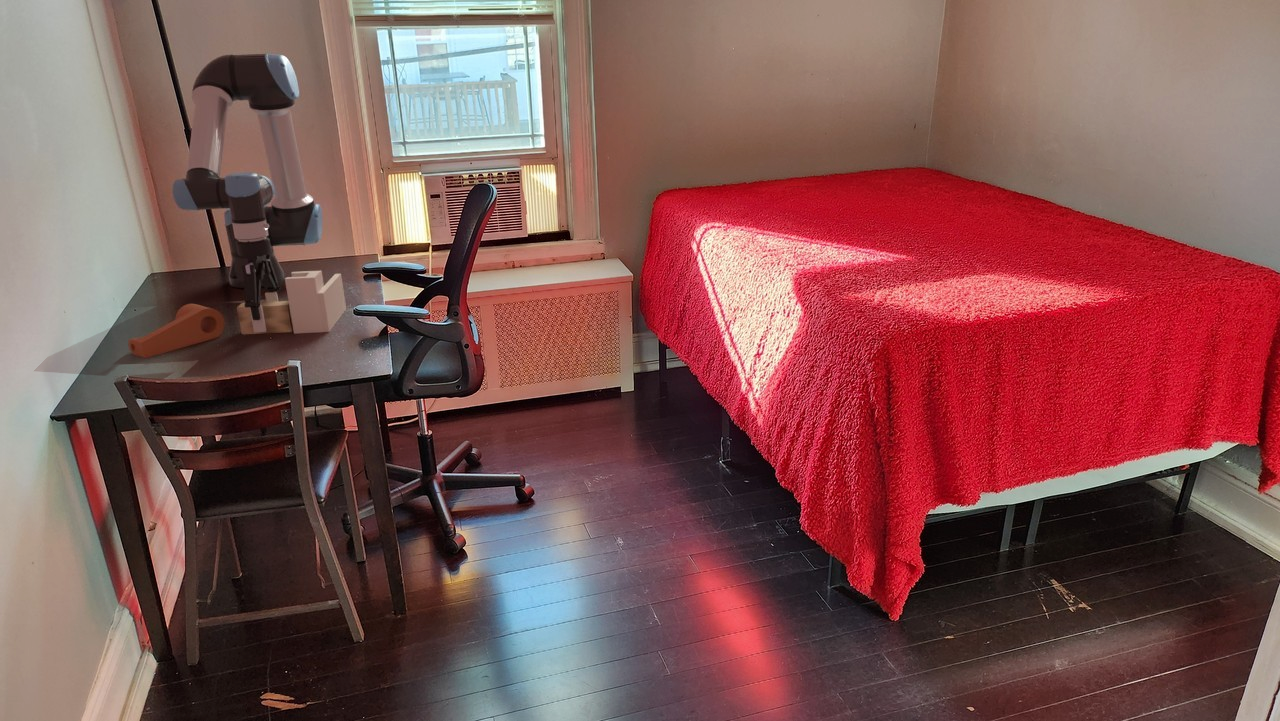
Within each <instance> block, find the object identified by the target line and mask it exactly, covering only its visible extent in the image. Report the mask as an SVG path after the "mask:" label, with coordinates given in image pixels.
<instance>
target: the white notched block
mask: <svg viewBox="0 0 1280 721" xmlns="http://www.w3.org/2000/svg"><path fill="white" fill-rule="evenodd" d="M290 273H291V274H290V275H291V276H288V277H285V279H284V282H285V287H286V292H287V293H286V294H287V301H289V306H290V312H291V318H292V324H293V330H294V331H293V334H294V335H295V334H309V333H310V334H313V333H330V332H331V330H332V329H333V328H334V326H336V324H337V322H338V321H339V320H340V319H341V317H342V316H343V315H344V313H345V312H346V311H347V305H346V298H345V292H344V285H343V284H344V283H343V278H342V273H334V275H332V277H331V278H330V279H329V280H328V281H327V282H326V283H325V284H324V277H323V271H322V270H307V271H306V270H303V271H292V272H290ZM345 310H346V311H345ZM344 311H345V312H344ZM342 314H343V315H342Z"/></svg>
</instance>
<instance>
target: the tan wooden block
mask: <svg viewBox="0 0 1280 721" xmlns="http://www.w3.org/2000/svg"><path fill="white" fill-rule="evenodd" d="M260 305H262V309H263V314H264V320H265V325H266V332H254V329H253V324H252V318H251V313H250V308H249V307H245V302H242V303H240V304H238V306H237V307H236V312H237V315H238V322H239V326H240V331H241V334H242V335H258V334H262V335H263V334H280V333H281V334H282V333H293V332H294V330H293V324H292V318H291V312H290V306H289V301H288V300H278V301H274V302H266V301H260Z"/></svg>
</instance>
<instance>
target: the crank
mask: <svg viewBox="0 0 1280 721" xmlns="http://www.w3.org/2000/svg"><path fill="white" fill-rule="evenodd" d="M224 318H225V317H224V316H223V314H222V313H221V312H220V311H218V310H217V309H216V308H211V307H207V306H204V305H200V304H196V303H187V304H185V305H183V306H181V307H180V308H179V309H178V311H177V312H176V314H175V317H174V320H173V321H170V322H169V323H167V324H164V326H163V325H162V327H160V328H158V329H156V330H154V331H152V332H151V333H147V334H146V335H144V336H143V337H142V336H141V337H140V336H138V337H134V338H130V339H129V340H128V348H129V351H130V352H131V354H132V355H134V356H137V357H140V358H144V359H146V358H147V359H148V358H150V357H154V356H158V355H161V354H164V353H169V352H171V351H174V350H179V349H182V348H186V347H189V346H193V345H196V344H200V343H202V342H206V341H210V340H214V339H217V338H218V337H220V336H221V334H222V333H223V331H224V328H225V319H224Z"/></svg>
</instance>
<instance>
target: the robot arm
mask: <svg viewBox="0 0 1280 721" xmlns="http://www.w3.org/2000/svg"><path fill="white" fill-rule="evenodd" d="M297 78H298V77H297V75H296V73H295V69H294V68H293V65H292V63H291V61H290V60H289V58H287V57H286V56H285V55H283V54H276V53H275V54H273V53H255V54H254V53H253V54H252V53H251V54H250V53H249V54H247V53H246V54H224V55H221V56H218V57H216V58H214V59H213V60H211V61H210V62H209V63H207V64H206V65H205V66H204V67H203V68H202V69H201V70H200V72H199V74H197V77H196V78H195V80H194V83H193V85H192V91H191V99H192V102H193V103H194V110H193V111H194V112H193V118H192V119H193V120H192V126H191V134H190V143H189V151H188V157H187V158H188V160H187V165H186V166H187V167H186V174H185V178H180V179H176V180H174V182H173V184H172V196H173V200H174V202H175V204H176V206H177V207H178V208H179V209H181V210H182V211H183V210H185V211H203V210H219V209H225V211H224V213H223V217H224V227H225V230H226V235H227V240H228V246H229V251H230V256H231V263H230V269H229V275H228V280H229V285H230V286H231V287H233V288H238V289H239V288H240V289H243V290H244V303H245V307H249V308H250V313H251V318H252V324H253V329H254V332H266V325H265V320H264V314H263V309H262V305H260V302H261V291H262V290H261V288H262V287H264V290H265V291H266V292H265V293H264V296H265V300H266V301H265V302H274V301H279V297H278V292H281V287H280V283H281V282H283V281H285V278H286V277H285V272H284V270H283V268H282V265H281V264H280V263H279V260H278V259H277V257H276V255H275V251H274V247H284V246H306V245H314V244H317V243H319V242H320V240H321V238H322V234H323V210H322V206H321V204H319V203H315V201H314V197H313V196H312V195H310V193H307V189H306V184H305V178H304V174H303V170H302V163H301V158H300V154H299V148H298V142H297V138H296V134H295V133H296V132H295V128H294V123H293V122H294V121H293V117H292V112H291V111H292V110H293V108H294V107H295V106H296V103H295V100H297V99H299V97H300V88H299V82H298V79H297ZM235 101H248V105H249V109H250V110H251V111H253V112H254V113H256V115H257V119H258V124H259V129H260V132H261V138H262V142H263V147H264V151H265V156H266V159H267V164H268V169H269V174H270V178H269V177H267V176H265V175H262V174H257V173H255V172H252V171H251V172H249V171H248V172H247V171H246V172H245V171H243V172H233V173H229V174H227V175H225V177H221V170H222V163H223V152H224V146H225V144H224V142H225V135H226V134H225V133H226V128H227V127H226V126H227V118H228V111H230V110H231V108H232V106H233V102H235ZM268 204H271V206H267V205H268Z"/></svg>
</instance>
